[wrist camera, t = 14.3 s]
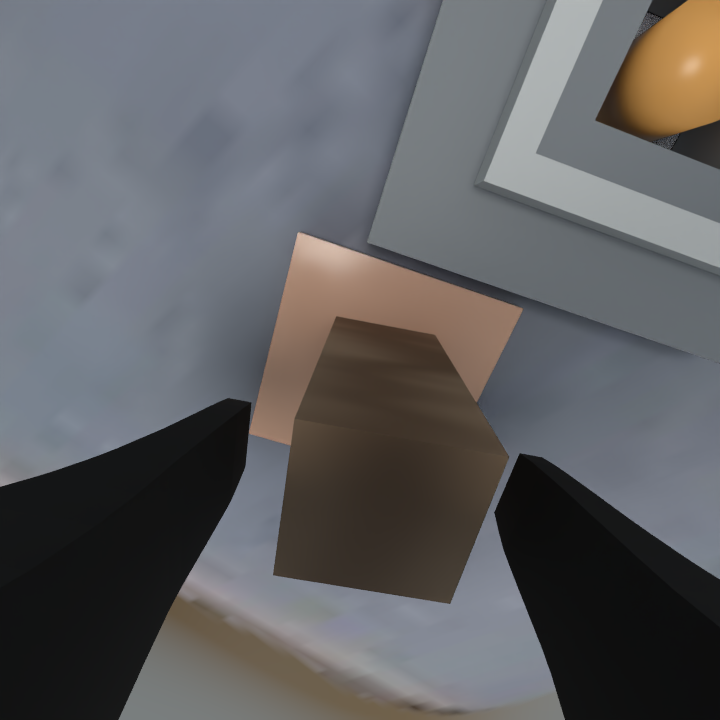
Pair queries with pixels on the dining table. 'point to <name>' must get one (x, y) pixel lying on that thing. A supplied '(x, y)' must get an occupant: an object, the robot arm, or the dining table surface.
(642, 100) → the button
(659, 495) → the dining table surface
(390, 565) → the brown rectangular block
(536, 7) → the grey square socket base
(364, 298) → the terracotta tile
